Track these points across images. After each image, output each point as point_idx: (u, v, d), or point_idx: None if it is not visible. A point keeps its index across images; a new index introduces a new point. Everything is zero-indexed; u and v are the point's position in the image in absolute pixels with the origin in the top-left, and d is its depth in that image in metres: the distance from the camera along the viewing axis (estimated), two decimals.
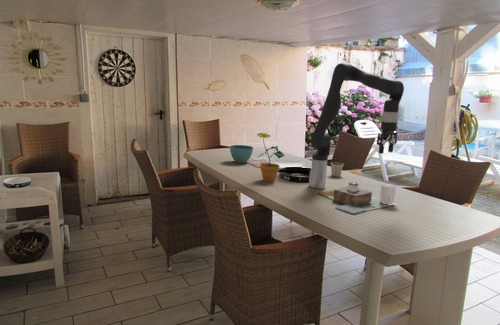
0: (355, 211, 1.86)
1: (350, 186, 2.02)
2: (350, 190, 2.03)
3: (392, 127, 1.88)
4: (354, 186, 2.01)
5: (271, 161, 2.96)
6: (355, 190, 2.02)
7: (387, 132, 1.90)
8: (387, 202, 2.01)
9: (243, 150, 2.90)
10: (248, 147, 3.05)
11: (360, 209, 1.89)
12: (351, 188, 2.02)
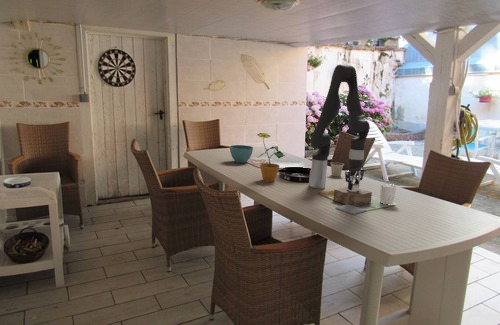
0: (355, 211, 1.86)
1: None
2: (350, 190, 2.03)
3: (358, 164, 1.98)
4: (354, 186, 2.01)
5: (271, 161, 2.96)
6: (355, 190, 2.02)
7: (354, 169, 2.00)
8: (387, 202, 2.01)
9: (243, 150, 2.90)
10: (248, 147, 3.05)
11: (360, 209, 1.89)
12: None
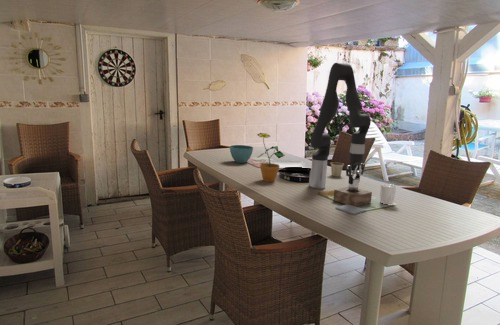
0: (355, 211, 1.86)
1: None
2: (351, 184, 2.02)
3: (358, 158, 1.97)
4: (355, 180, 2.01)
5: (271, 161, 2.96)
6: (356, 184, 2.01)
7: (355, 163, 1.99)
8: (387, 202, 2.01)
9: (243, 150, 2.90)
10: (248, 147, 3.05)
11: (360, 209, 1.89)
12: None
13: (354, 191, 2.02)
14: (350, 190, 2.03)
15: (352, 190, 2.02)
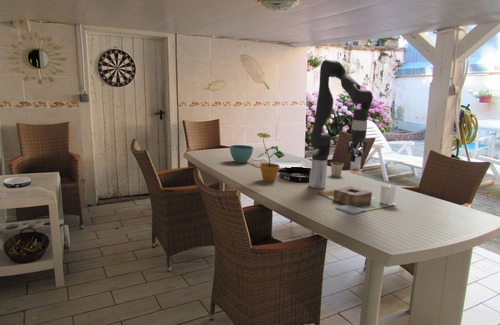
0: (355, 211, 1.86)
1: None
2: (353, 162, 1.99)
3: (361, 134, 1.94)
4: (357, 158, 1.98)
5: (271, 161, 2.96)
6: (358, 162, 1.99)
7: (357, 140, 1.97)
8: (387, 202, 2.01)
9: (243, 150, 2.90)
10: (248, 147, 3.05)
11: (360, 209, 1.89)
12: None
13: (356, 169, 1.99)
14: (352, 168, 2.00)
15: (354, 168, 1.99)
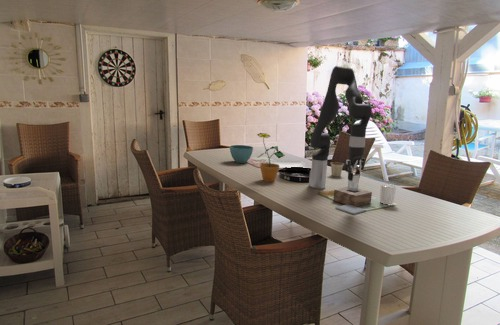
0: (355, 211, 1.86)
1: None
2: (350, 181, 1.86)
3: (358, 152, 1.81)
4: (355, 176, 1.85)
5: (271, 161, 2.96)
6: (356, 181, 1.85)
7: (354, 157, 1.83)
8: (387, 202, 2.01)
9: (243, 150, 2.90)
10: (248, 147, 3.05)
11: (360, 209, 1.89)
12: None
13: (354, 188, 1.86)
14: (350, 187, 1.87)
15: (352, 187, 1.86)
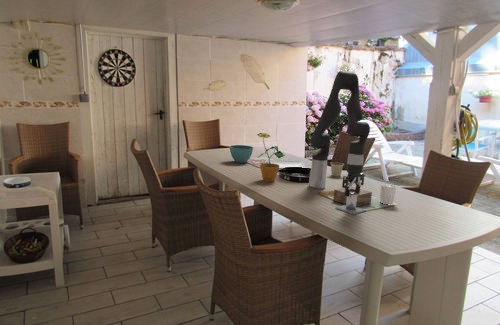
0: (355, 211, 1.86)
1: (348, 196, 1.88)
2: (348, 200, 1.88)
3: (357, 169, 1.83)
4: (353, 196, 1.87)
5: (271, 161, 2.96)
6: (354, 200, 1.87)
7: (353, 175, 1.85)
8: (387, 202, 2.01)
9: (243, 150, 2.90)
10: (248, 147, 3.05)
11: (360, 209, 1.89)
12: (349, 198, 1.87)
13: (352, 207, 1.88)
14: (348, 206, 1.89)
15: (350, 206, 1.88)
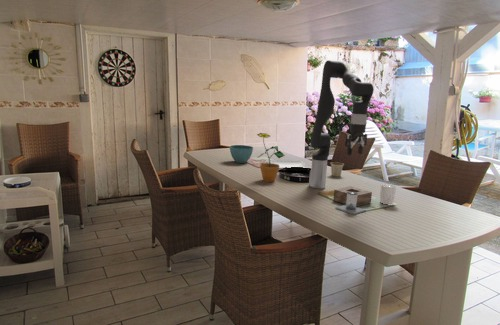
0: (355, 211, 1.86)
1: (348, 195, 1.88)
2: (348, 200, 1.88)
3: (360, 129, 1.88)
4: (353, 196, 1.87)
5: (271, 161, 2.96)
6: (354, 200, 1.87)
7: (356, 134, 1.90)
8: (387, 202, 2.01)
9: (243, 150, 2.90)
10: (248, 147, 3.05)
11: (360, 209, 1.89)
12: (349, 198, 1.88)
13: (352, 207, 1.88)
14: (348, 206, 1.89)
15: (350, 206, 1.88)
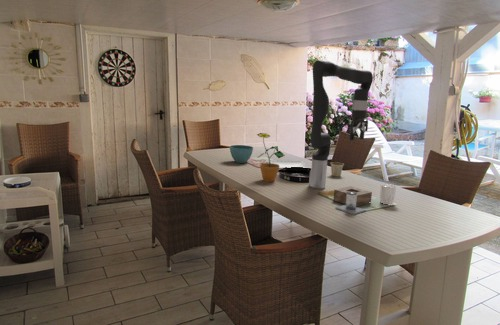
0: (355, 211, 1.86)
1: (348, 196, 1.88)
2: (348, 200, 1.88)
3: (361, 114, 1.97)
4: (352, 196, 1.87)
5: (271, 161, 2.96)
6: (353, 200, 1.87)
7: (357, 120, 1.99)
8: (387, 202, 2.01)
9: (243, 150, 2.90)
10: (248, 147, 3.05)
11: (360, 209, 1.89)
12: (349, 198, 1.88)
13: (352, 207, 1.88)
14: (347, 206, 1.89)
15: (350, 206, 1.88)
